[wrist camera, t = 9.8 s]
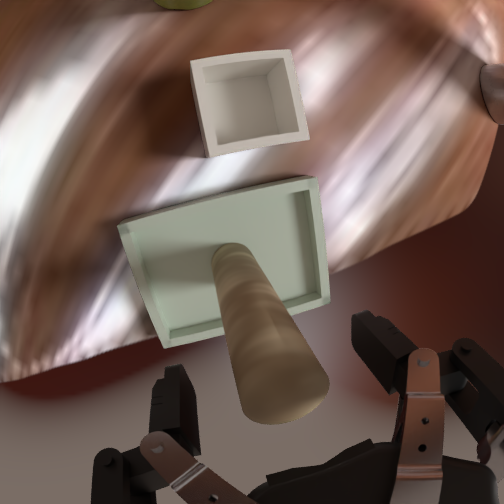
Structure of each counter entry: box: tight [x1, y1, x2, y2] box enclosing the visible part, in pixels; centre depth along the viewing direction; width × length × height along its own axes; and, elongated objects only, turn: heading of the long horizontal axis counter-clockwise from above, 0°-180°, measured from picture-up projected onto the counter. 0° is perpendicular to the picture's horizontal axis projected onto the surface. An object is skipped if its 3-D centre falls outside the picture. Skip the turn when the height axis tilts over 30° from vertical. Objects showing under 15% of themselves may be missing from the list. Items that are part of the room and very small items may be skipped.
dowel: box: [211, 243, 330, 425], centre depth 16 cm, size 3×3×14 cm
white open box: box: [190, 49, 310, 158], centre depth 17 cm, size 6×6×5 cm
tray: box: [117, 175, 330, 348], centre depth 22 cm, size 15×11×2 cm
